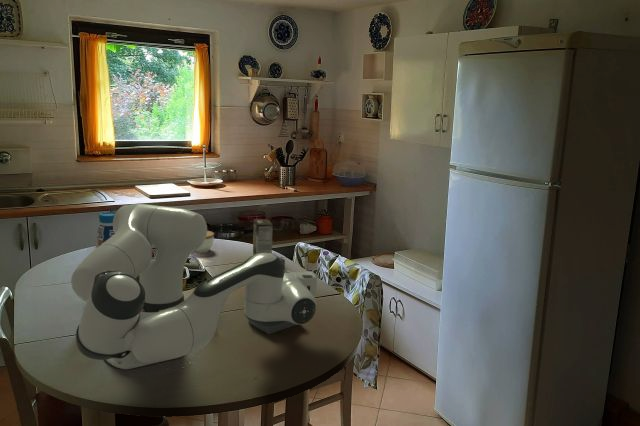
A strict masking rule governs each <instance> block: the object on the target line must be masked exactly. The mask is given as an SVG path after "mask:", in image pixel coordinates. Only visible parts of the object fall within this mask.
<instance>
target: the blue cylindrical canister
mask: <svg viewBox="0 0 640 426" xmlns="http://www.w3.org/2000/svg"><path fill="white" fill-rule="evenodd" d="M115 214H116V212H115V211H105V212H100V213H99V215H98V219H99V221H98V222H99V223H100V225H99V226H98V229H97V233H98V235H97V243H98V247H99V246H100V245H101V244H103V243H104V242H105V241H107V240H108V239H109V238H110V237H112V236H113V235H114V234H115V233H114V230H113V219H114V216H115Z"/></svg>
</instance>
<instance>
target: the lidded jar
mask: <svg viewBox="0 0 640 426" xmlns="http://www.w3.org/2000/svg"><path fill="white" fill-rule="evenodd" d="M214 237H215V233H214V232H213V231H212V230H211V231H210V230H207V235H206V239H205V241H204V242H203V244H202V245H201V246H200V247H199V248H198V249H196V250H195V251H194V253H197V254H205V253H208V252H209V251H210V250H211V249H212V247H213V246H214V240H215V239H214Z"/></svg>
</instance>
